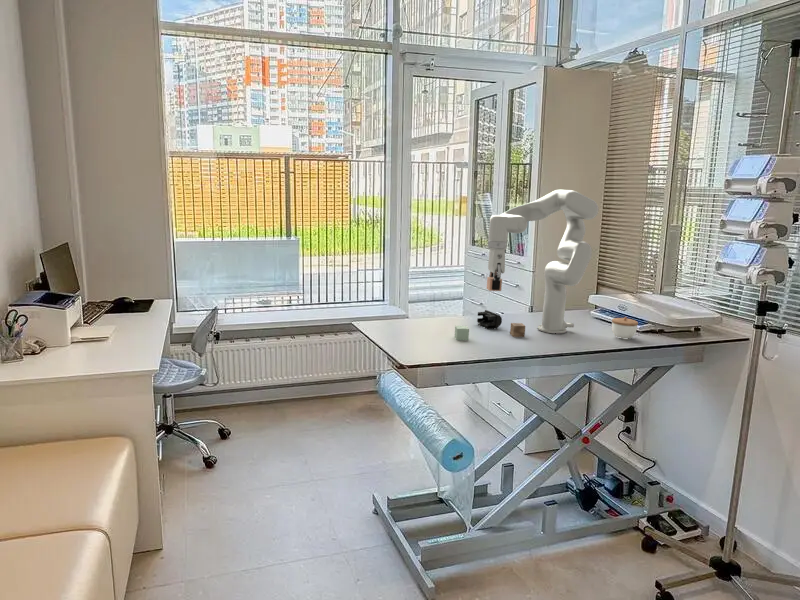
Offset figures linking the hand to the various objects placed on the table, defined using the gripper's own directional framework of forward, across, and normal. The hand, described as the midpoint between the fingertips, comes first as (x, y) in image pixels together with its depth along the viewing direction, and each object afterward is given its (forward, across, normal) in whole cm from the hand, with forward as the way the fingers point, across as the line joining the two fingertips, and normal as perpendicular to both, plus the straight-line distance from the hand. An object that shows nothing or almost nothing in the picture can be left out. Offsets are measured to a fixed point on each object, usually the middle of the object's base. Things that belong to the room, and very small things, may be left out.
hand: (494, 288), depth 249 cm
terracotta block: (+1, 0, 0) cm, 1 cm away
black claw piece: (+22, +19, -4) cm, 29 cm away
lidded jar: (+22, +4, -61) cm, 65 cm away
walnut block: (+22, +4, -13) cm, 25 cm away
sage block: (+21, -3, +13) cm, 25 cm away
